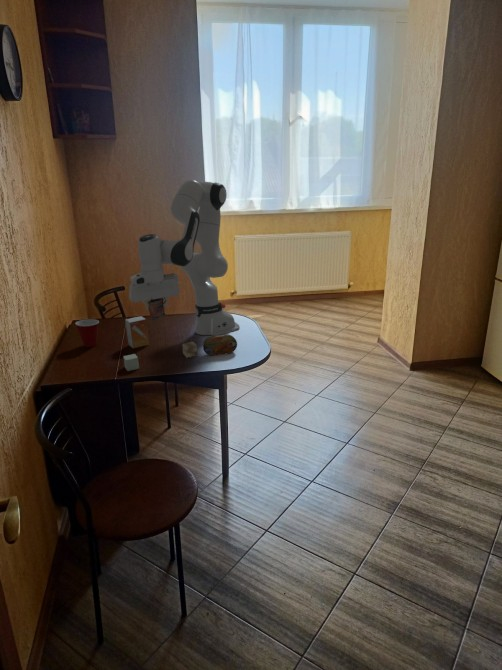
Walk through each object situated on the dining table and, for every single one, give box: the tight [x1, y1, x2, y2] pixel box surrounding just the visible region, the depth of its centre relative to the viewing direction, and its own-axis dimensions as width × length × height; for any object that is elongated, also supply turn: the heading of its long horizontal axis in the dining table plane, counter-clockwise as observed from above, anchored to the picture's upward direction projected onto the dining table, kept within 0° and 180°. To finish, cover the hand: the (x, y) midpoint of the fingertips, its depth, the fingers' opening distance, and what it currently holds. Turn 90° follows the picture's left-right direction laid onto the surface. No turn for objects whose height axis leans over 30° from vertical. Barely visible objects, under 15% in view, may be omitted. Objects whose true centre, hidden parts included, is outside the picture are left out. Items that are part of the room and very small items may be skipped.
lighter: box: [147, 297, 166, 321], centre depth 192 cm, size 8×3×10 cm, turn 148°
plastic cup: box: [74, 318, 100, 348], centre depth 223 cm, size 11×11×12 cm
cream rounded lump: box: [181, 341, 199, 359], centre depth 207 cm, size 5×5×5 cm
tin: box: [202, 334, 238, 357], centre depth 206 cm, size 15×3×8 cm, turn 101°
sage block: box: [123, 353, 140, 372], centre depth 196 cm, size 5×5×5 cm
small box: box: [124, 315, 150, 349], centre depth 220 cm, size 8×6×13 cm
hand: (156, 309), depth 192 cm, fingers closed on lighter, 5 cm apart
